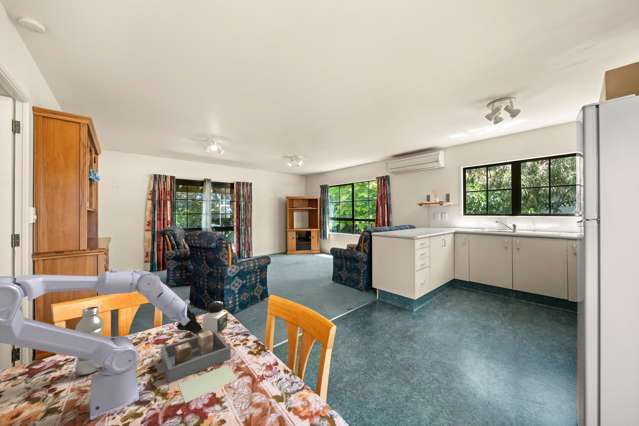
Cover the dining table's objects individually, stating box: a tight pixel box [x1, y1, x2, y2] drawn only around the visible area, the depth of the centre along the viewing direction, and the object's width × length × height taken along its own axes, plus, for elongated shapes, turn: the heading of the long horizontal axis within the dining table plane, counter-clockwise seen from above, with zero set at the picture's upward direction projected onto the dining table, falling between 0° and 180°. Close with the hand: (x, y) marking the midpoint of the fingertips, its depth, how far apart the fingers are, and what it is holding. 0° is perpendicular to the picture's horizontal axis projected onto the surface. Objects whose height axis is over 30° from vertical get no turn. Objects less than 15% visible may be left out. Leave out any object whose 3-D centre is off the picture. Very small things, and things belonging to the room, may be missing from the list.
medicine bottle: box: [202, 300, 228, 335], centre depth 103 cm, size 7×7×12 cm
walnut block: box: [175, 342, 191, 366], centre depth 78 cm, size 4×4×6 cm
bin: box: [160, 331, 232, 384], centre depth 81 cm, size 18×16×4 cm
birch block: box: [197, 331, 213, 355], centre depth 86 cm, size 4×4×6 cm
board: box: [178, 364, 238, 404], centre depth 70 cm, size 14×9×1 cm, turn 131°
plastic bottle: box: [74, 306, 105, 376], centre depth 76 cm, size 6×7×20 cm
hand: (195, 326), depth 79 cm, fingers open, 7 cm apart
